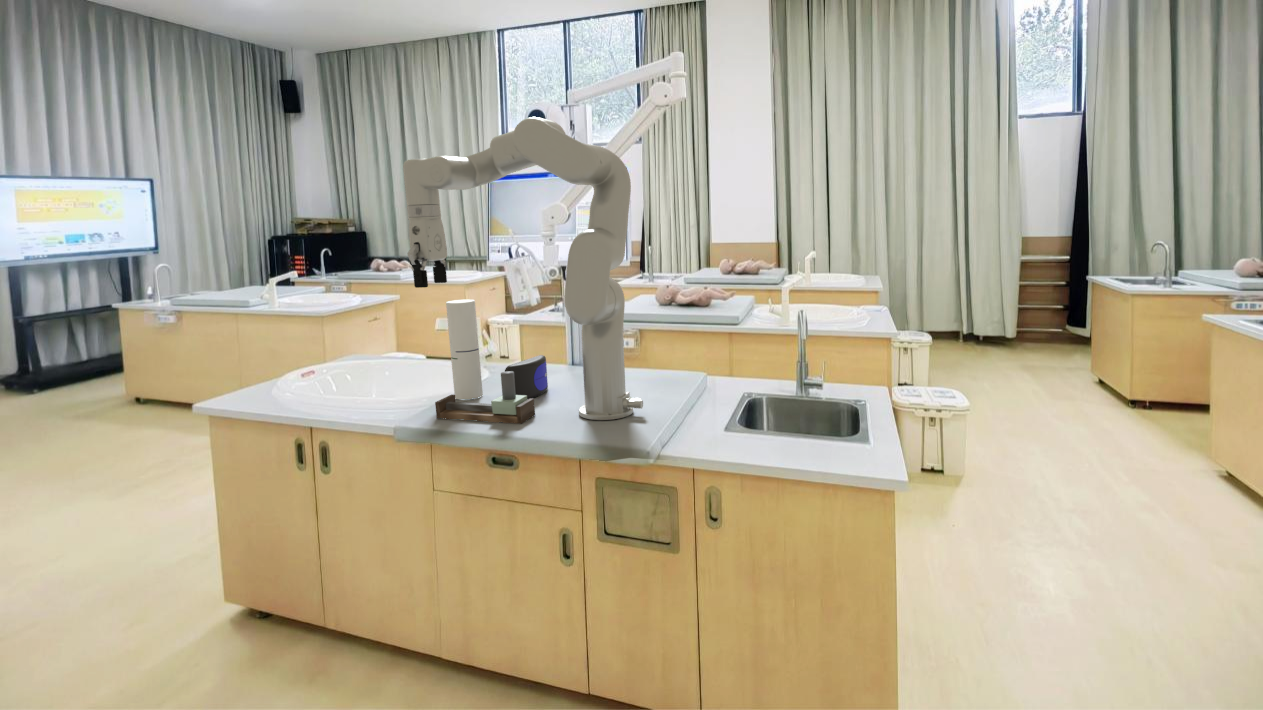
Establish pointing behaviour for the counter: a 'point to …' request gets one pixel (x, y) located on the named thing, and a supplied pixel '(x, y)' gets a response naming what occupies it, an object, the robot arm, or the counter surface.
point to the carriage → (507, 396)
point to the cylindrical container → (464, 348)
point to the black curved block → (530, 376)
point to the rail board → (481, 411)
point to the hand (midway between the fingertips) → (431, 284)
